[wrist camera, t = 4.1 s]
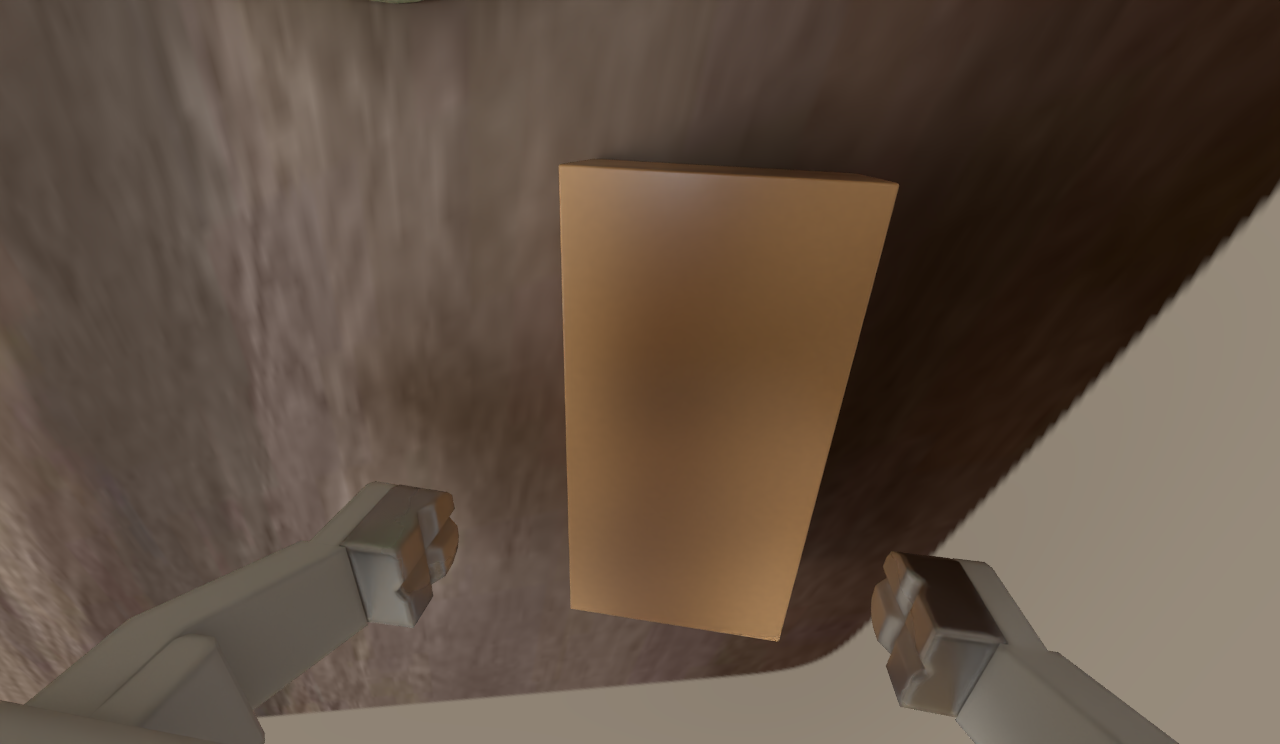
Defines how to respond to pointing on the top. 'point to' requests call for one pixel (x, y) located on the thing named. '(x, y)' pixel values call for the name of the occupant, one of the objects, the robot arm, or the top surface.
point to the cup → (396, 1)
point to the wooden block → (705, 378)
